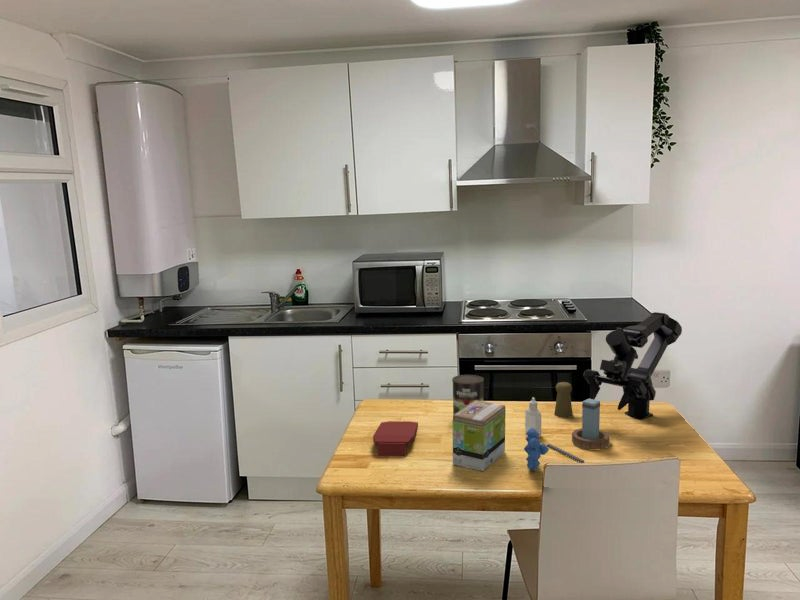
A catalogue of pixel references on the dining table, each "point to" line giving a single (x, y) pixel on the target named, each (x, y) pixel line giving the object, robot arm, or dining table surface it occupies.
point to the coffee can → (466, 391)
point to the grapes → (534, 449)
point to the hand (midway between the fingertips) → (604, 406)
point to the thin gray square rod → (564, 452)
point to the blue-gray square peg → (590, 419)
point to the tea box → (478, 435)
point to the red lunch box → (394, 437)
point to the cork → (563, 400)
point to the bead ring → (590, 444)
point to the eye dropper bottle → (533, 417)
